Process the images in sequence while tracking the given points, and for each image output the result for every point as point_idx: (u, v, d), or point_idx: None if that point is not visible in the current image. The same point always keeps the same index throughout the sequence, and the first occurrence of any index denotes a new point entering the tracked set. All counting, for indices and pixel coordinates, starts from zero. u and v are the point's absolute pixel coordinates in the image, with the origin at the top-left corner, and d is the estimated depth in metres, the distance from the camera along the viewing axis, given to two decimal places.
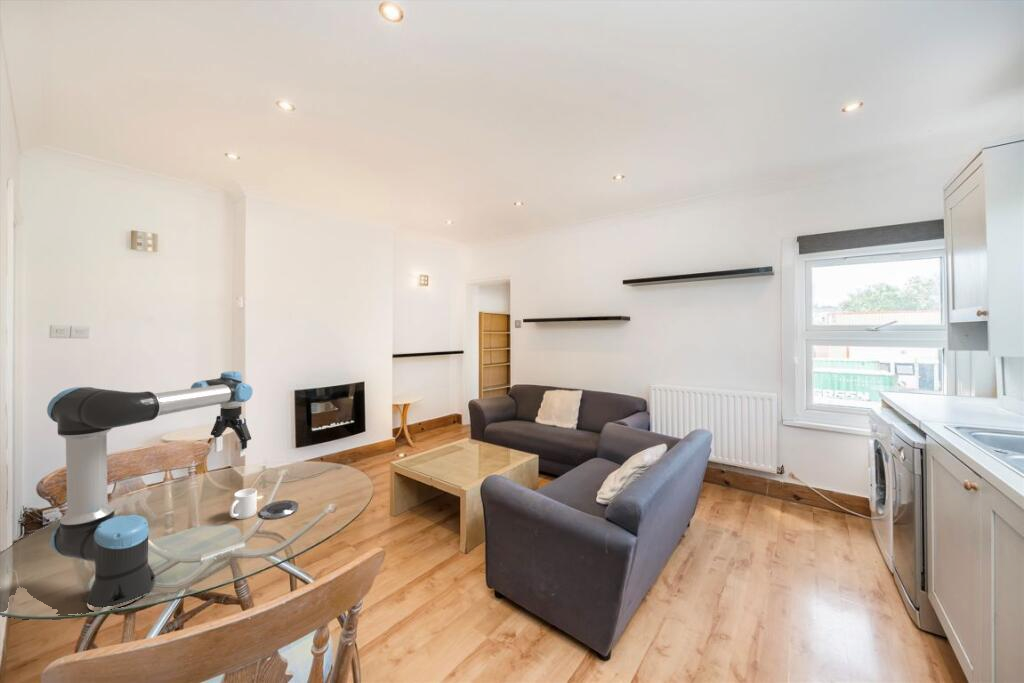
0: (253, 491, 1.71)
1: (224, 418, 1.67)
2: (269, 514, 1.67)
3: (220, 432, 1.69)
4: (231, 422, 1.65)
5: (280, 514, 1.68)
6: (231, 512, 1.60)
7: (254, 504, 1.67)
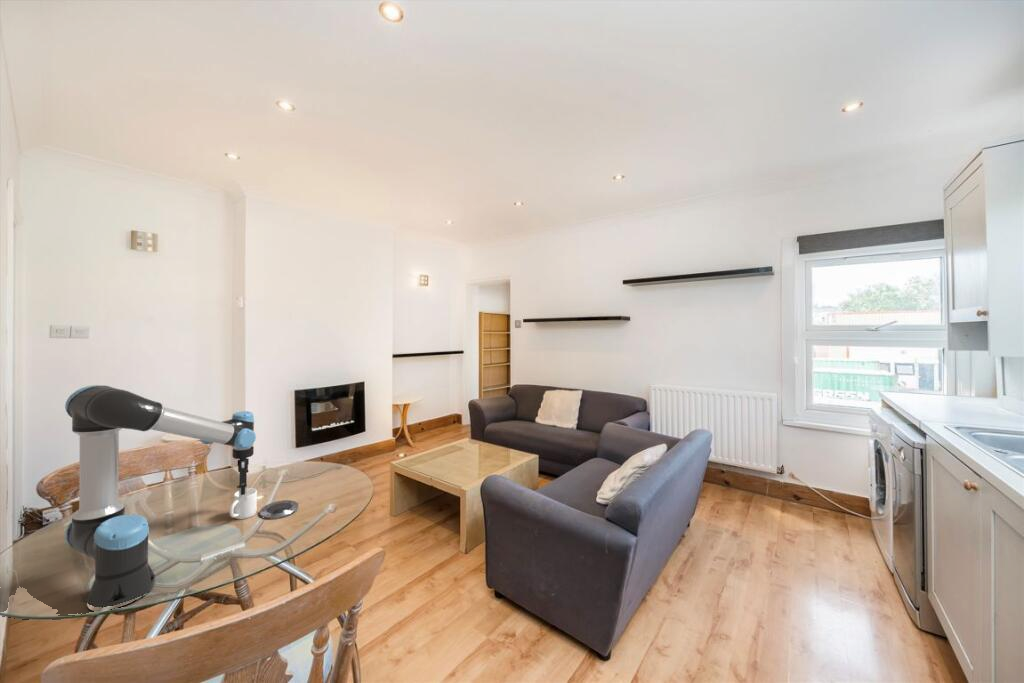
0: (253, 491, 1.71)
1: None
2: (269, 514, 1.67)
3: None
4: (238, 464, 1.62)
5: (280, 514, 1.68)
6: (231, 512, 1.60)
7: (254, 504, 1.67)
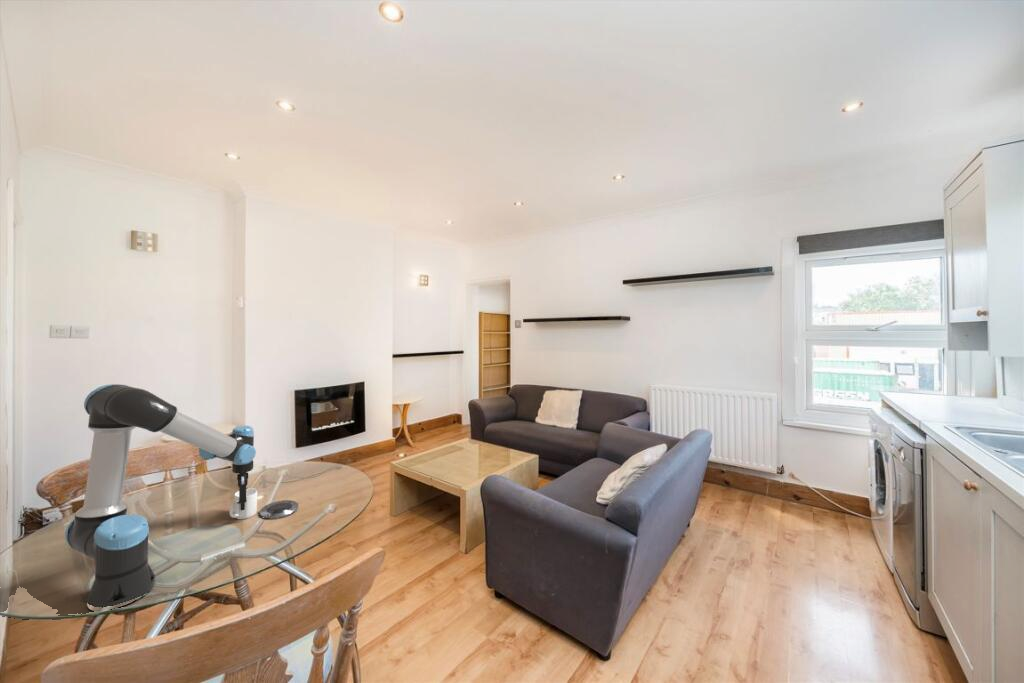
0: (253, 491, 1.71)
1: None
2: (269, 514, 1.67)
3: None
4: (238, 479, 1.63)
5: (280, 514, 1.68)
6: (231, 512, 1.60)
7: (254, 504, 1.67)
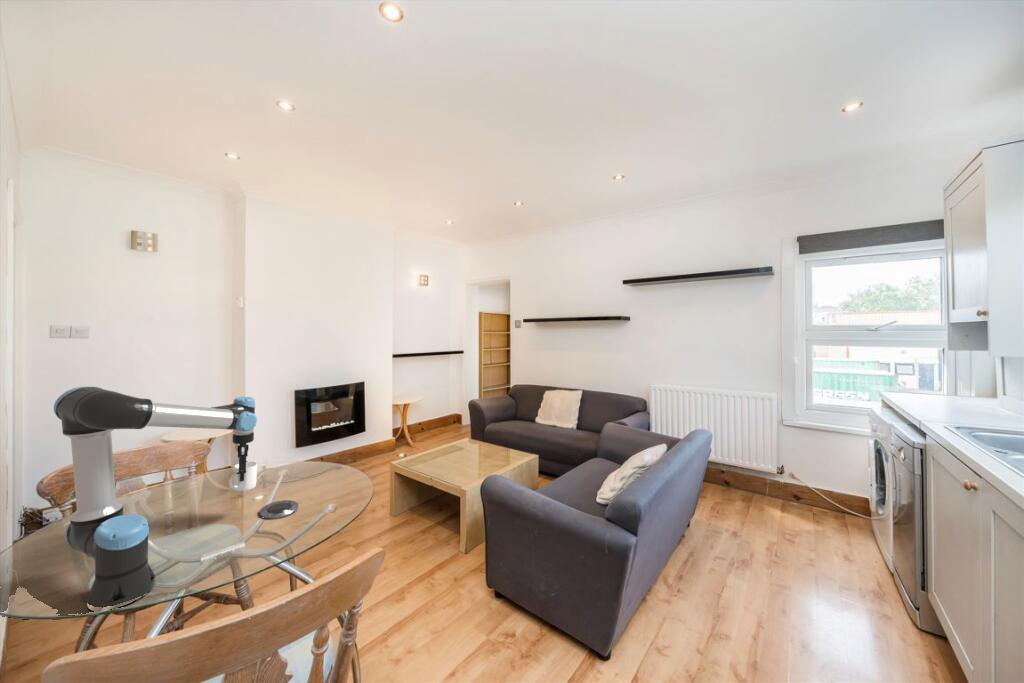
0: (253, 464, 1.69)
1: None
2: (269, 514, 1.67)
3: None
4: (238, 449, 1.62)
5: (280, 514, 1.68)
6: (230, 483, 1.58)
7: (254, 477, 1.66)
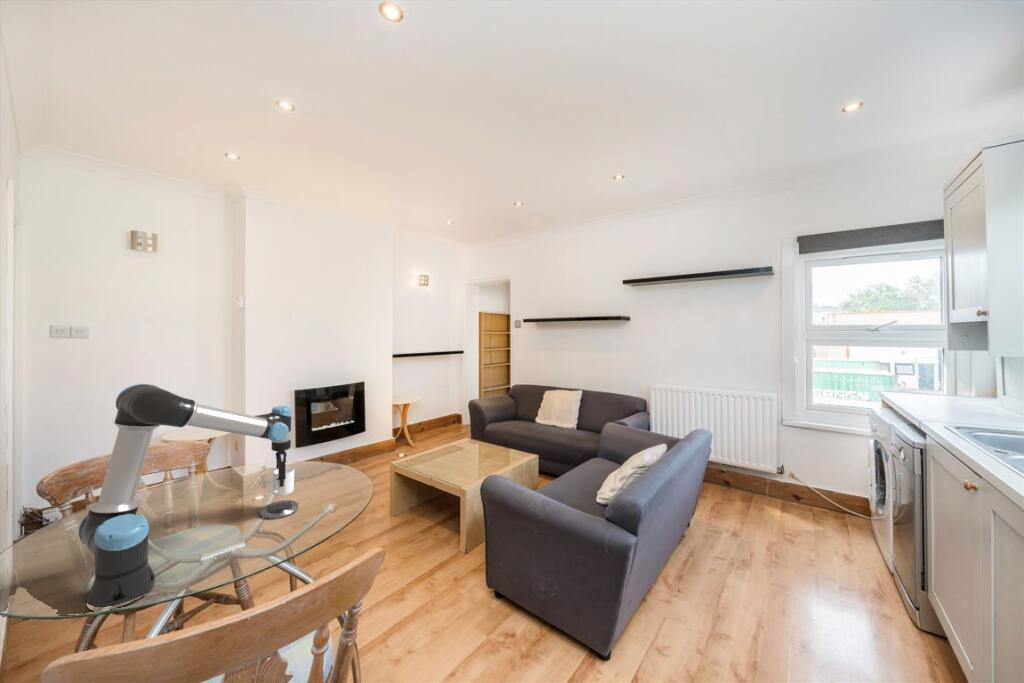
0: (290, 470, 1.77)
1: None
2: (269, 514, 1.67)
3: None
4: (277, 456, 1.69)
5: (280, 514, 1.68)
6: (271, 488, 1.66)
7: (292, 482, 1.73)
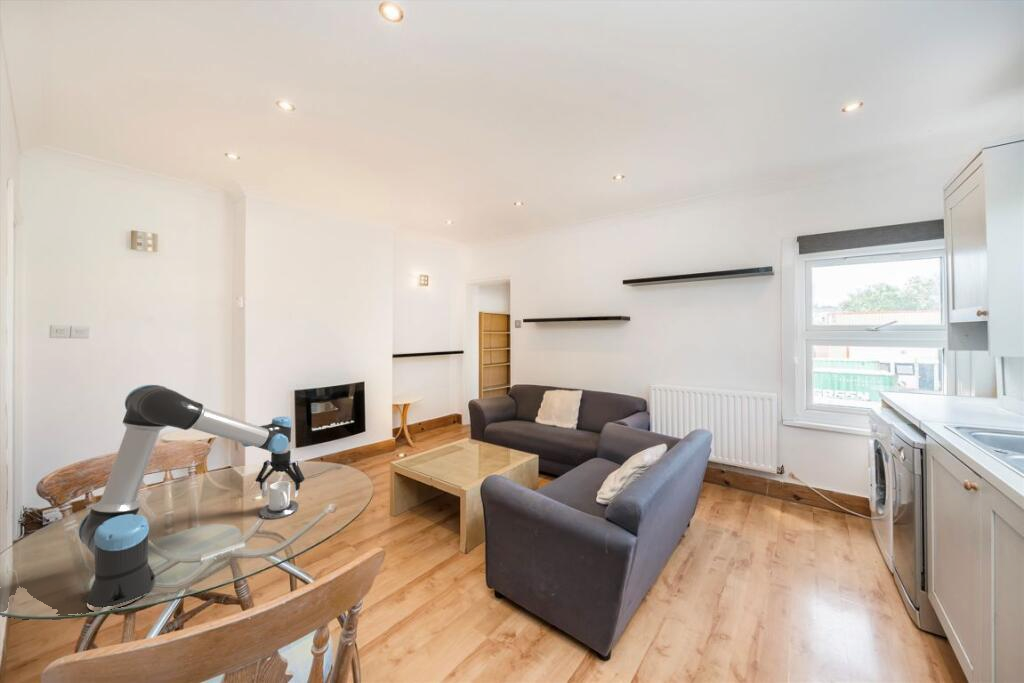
0: (277, 484, 1.76)
1: (274, 463, 1.70)
2: (269, 514, 1.67)
3: (267, 477, 1.71)
4: (284, 466, 1.71)
5: (280, 514, 1.68)
6: (286, 501, 1.69)
7: None
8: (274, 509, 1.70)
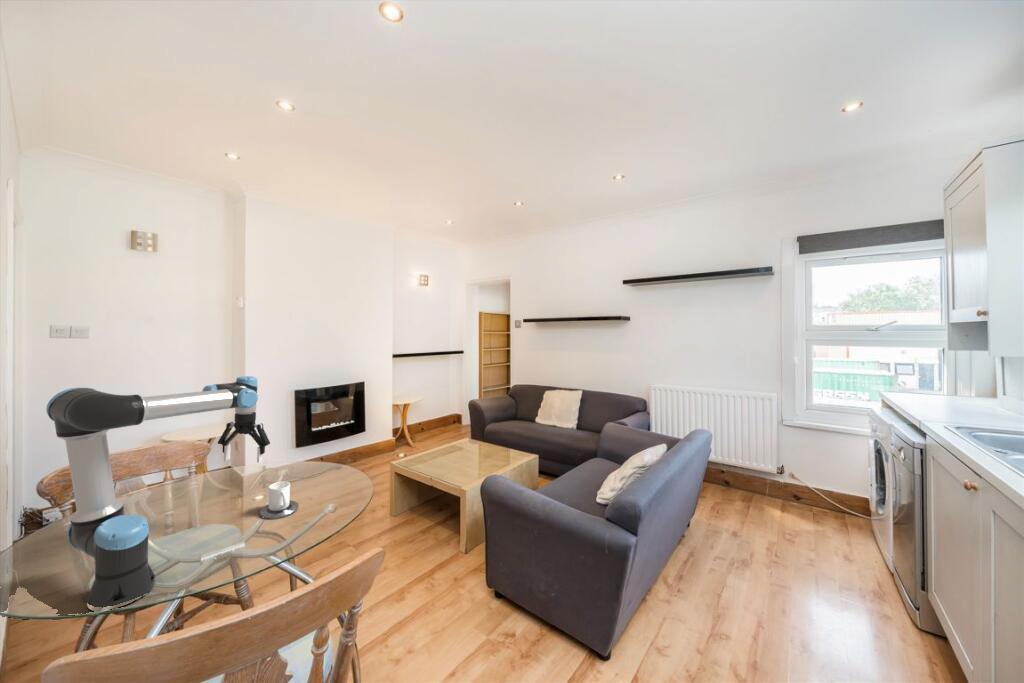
0: (277, 484, 1.76)
1: (237, 424, 1.62)
2: (269, 514, 1.67)
3: (230, 440, 1.62)
4: (247, 428, 1.62)
5: (280, 514, 1.68)
6: (286, 501, 1.69)
7: None
8: (274, 509, 1.70)
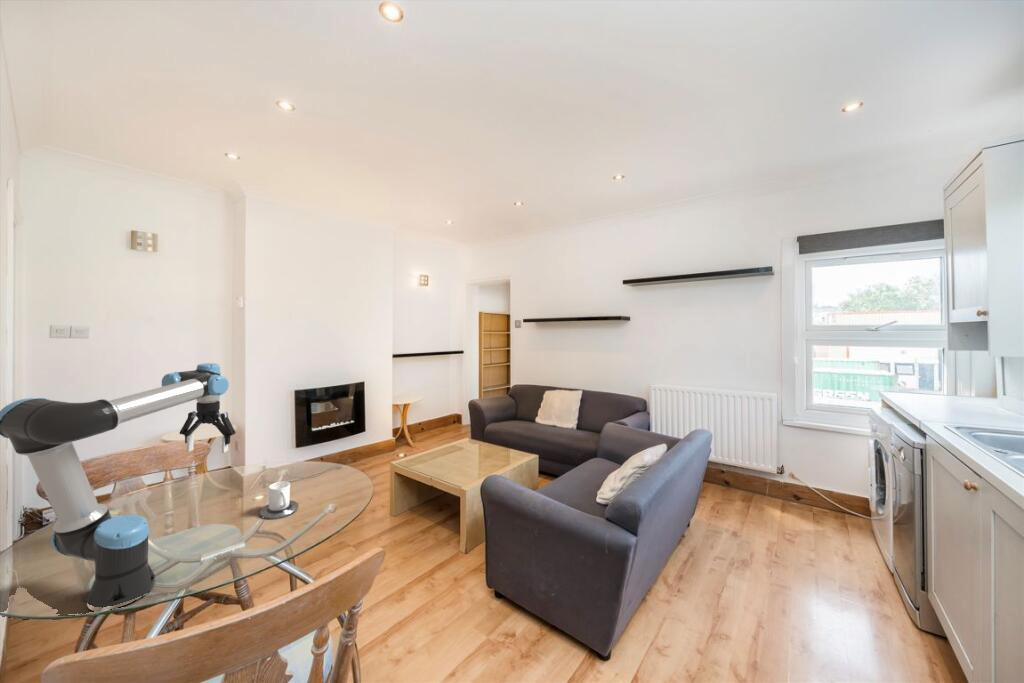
0: (277, 484, 1.76)
1: (200, 414, 1.54)
2: (269, 514, 1.67)
3: (193, 430, 1.55)
4: (211, 417, 1.55)
5: (280, 514, 1.68)
6: (286, 501, 1.69)
7: None
8: (274, 509, 1.70)
